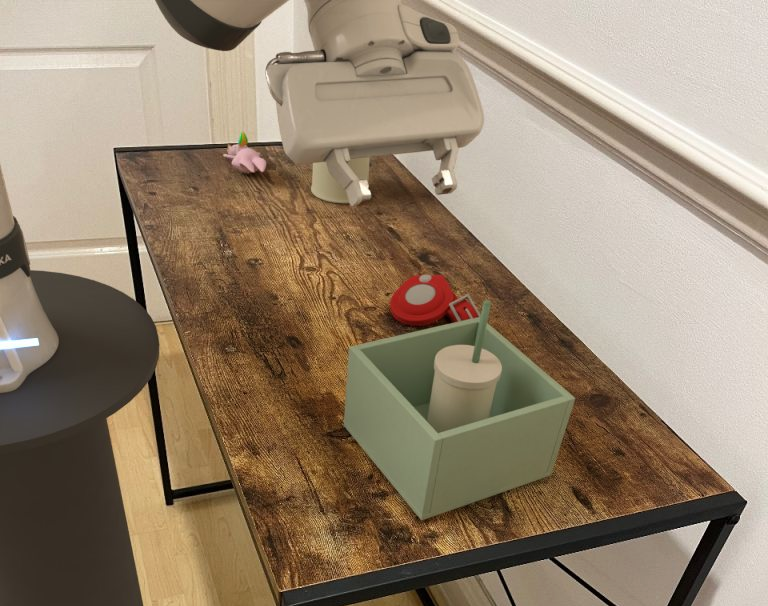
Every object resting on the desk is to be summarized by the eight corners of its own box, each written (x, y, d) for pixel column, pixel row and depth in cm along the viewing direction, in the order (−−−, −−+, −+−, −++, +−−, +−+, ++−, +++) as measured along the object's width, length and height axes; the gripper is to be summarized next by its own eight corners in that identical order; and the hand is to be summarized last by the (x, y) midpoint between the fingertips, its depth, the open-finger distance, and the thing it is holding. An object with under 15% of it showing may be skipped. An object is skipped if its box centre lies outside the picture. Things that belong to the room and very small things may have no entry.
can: (325, 206, 121) (328, 124, 112) (301, 183, 126) (303, 103, 118) (378, 200, 124) (384, 120, 116) (352, 178, 130) (357, 100, 121)
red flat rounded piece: (381, 317, 96) (395, 263, 101) (388, 343, 99) (401, 290, 105) (479, 315, 93) (489, 260, 98) (483, 342, 96) (491, 288, 102)
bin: (421, 520, 72) (435, 440, 66) (343, 425, 82) (348, 346, 75) (551, 475, 79) (575, 398, 72) (465, 391, 88) (480, 316, 81)
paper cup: (443, 470, 77) (471, 326, 66) (410, 433, 81) (430, 291, 69) (495, 453, 79) (530, 312, 68) (461, 418, 83) (488, 279, 72)
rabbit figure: (218, 164, 132) (239, 184, 121) (214, 125, 129) (236, 142, 117) (254, 162, 134) (278, 182, 123) (252, 124, 131) (276, 141, 119)
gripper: (269, 31, 64) (317, 195, 65) (470, 26, 73) (510, 171, 74) (249, 74, 70) (293, 224, 71) (438, 64, 79) (475, 199, 80)
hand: (405, 197), depth 73 cm, fingers open, 8 cm apart
